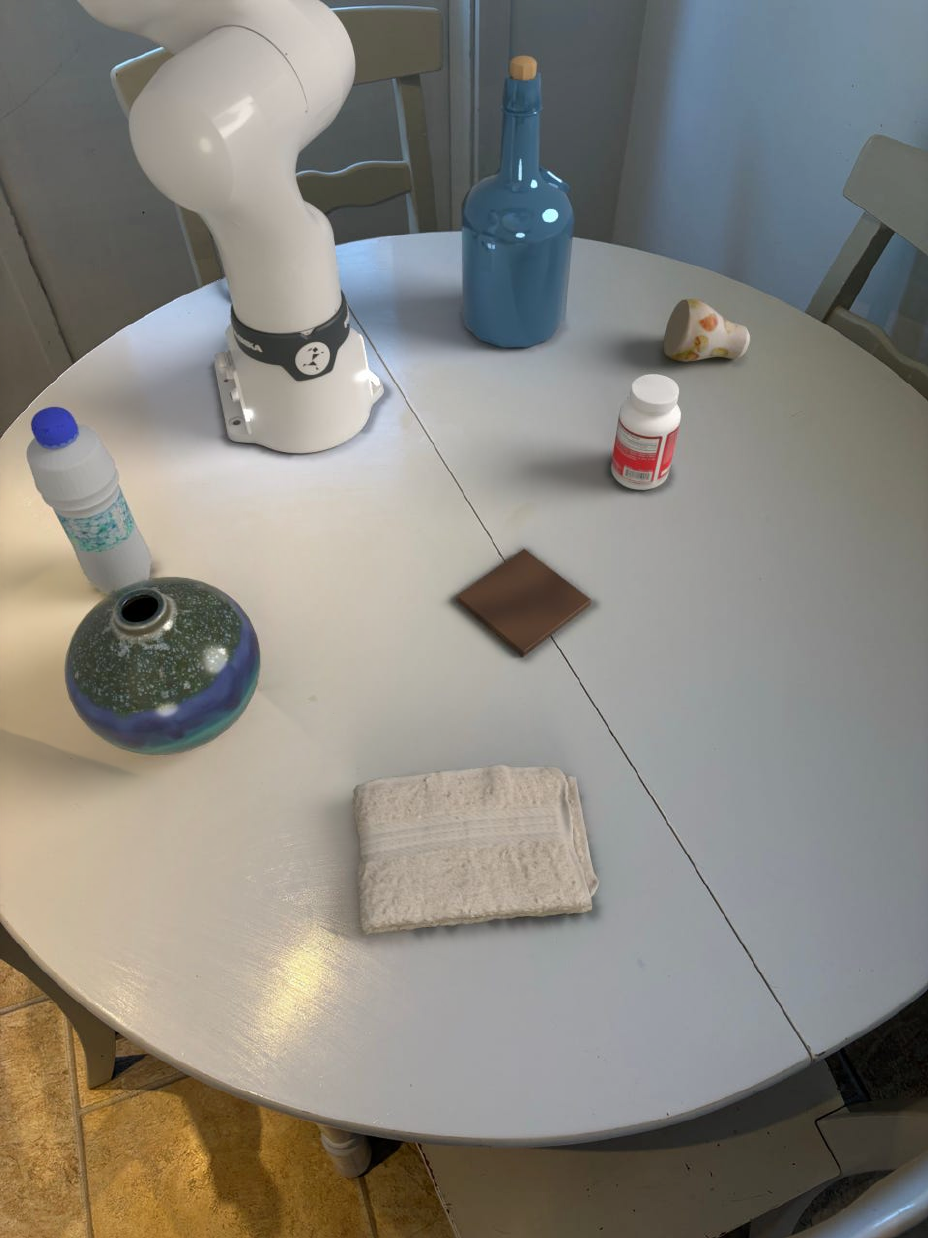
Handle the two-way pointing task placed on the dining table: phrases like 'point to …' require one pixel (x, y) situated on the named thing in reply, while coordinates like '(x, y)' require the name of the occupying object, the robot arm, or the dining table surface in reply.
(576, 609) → the coaster
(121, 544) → the bottle
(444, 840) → the washcloth
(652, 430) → the pill bottle
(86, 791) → the dining table surface
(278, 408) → the robot arm
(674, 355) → the mug
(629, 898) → the dining table surface
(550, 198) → the wine bottle
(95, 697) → the vase
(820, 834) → the dining table surface
